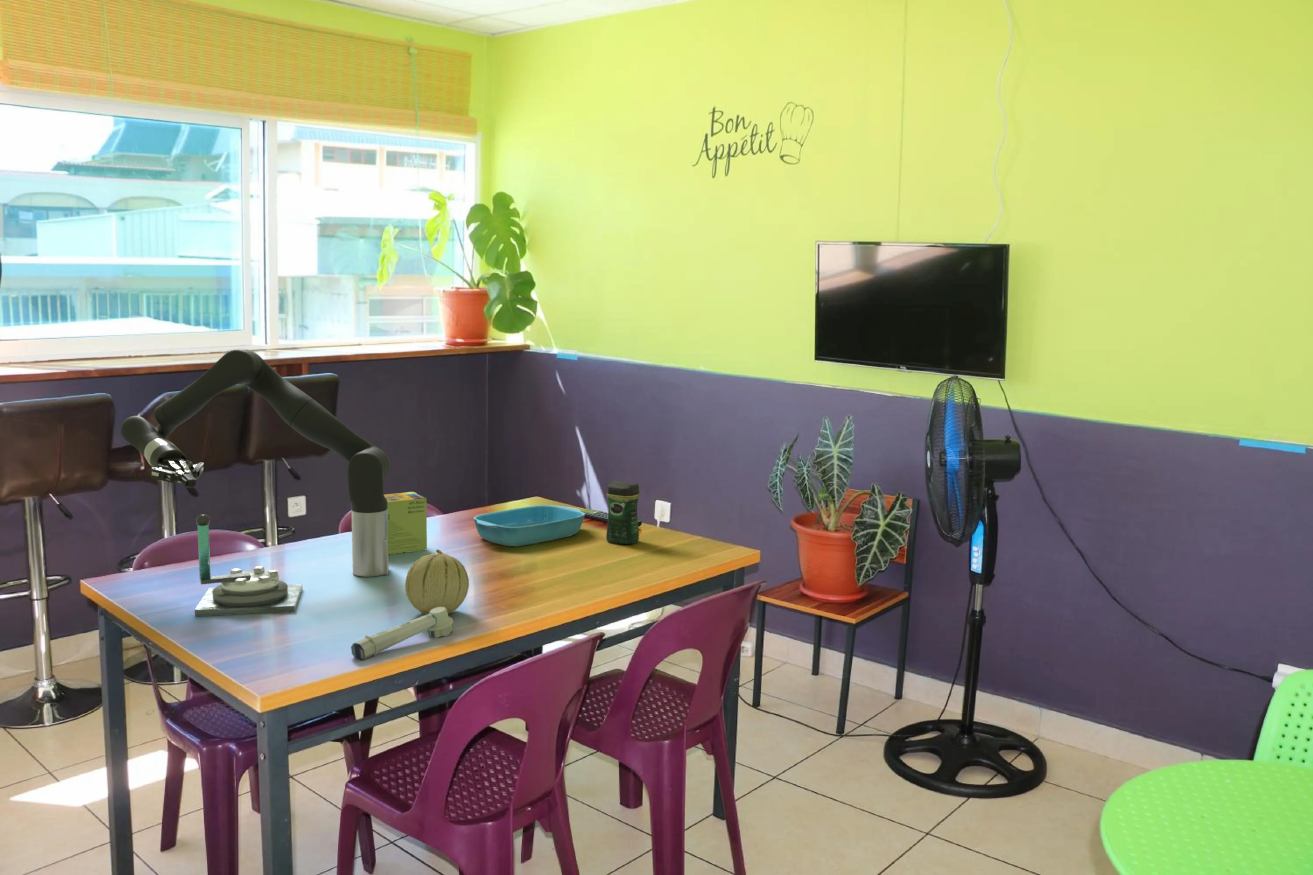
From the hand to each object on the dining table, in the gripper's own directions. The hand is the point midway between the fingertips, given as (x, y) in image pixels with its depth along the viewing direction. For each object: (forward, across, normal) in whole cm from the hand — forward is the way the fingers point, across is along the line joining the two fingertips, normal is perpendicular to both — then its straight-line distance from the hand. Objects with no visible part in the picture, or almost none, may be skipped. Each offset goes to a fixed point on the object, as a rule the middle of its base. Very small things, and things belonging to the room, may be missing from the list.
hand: (191, 483), depth 261 cm
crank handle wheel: (+17, +6, +21) cm, 28 cm away
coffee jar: (+31, +118, +21) cm, 124 cm away
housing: (+19, +8, +24) cm, 32 cm away
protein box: (-3, +61, +30) cm, 68 cm away
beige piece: (+67, +21, +13) cm, 72 cm away
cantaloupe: (+54, +38, +16) cm, 68 cm away
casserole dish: (+9, +101, +27) cm, 105 cm away
